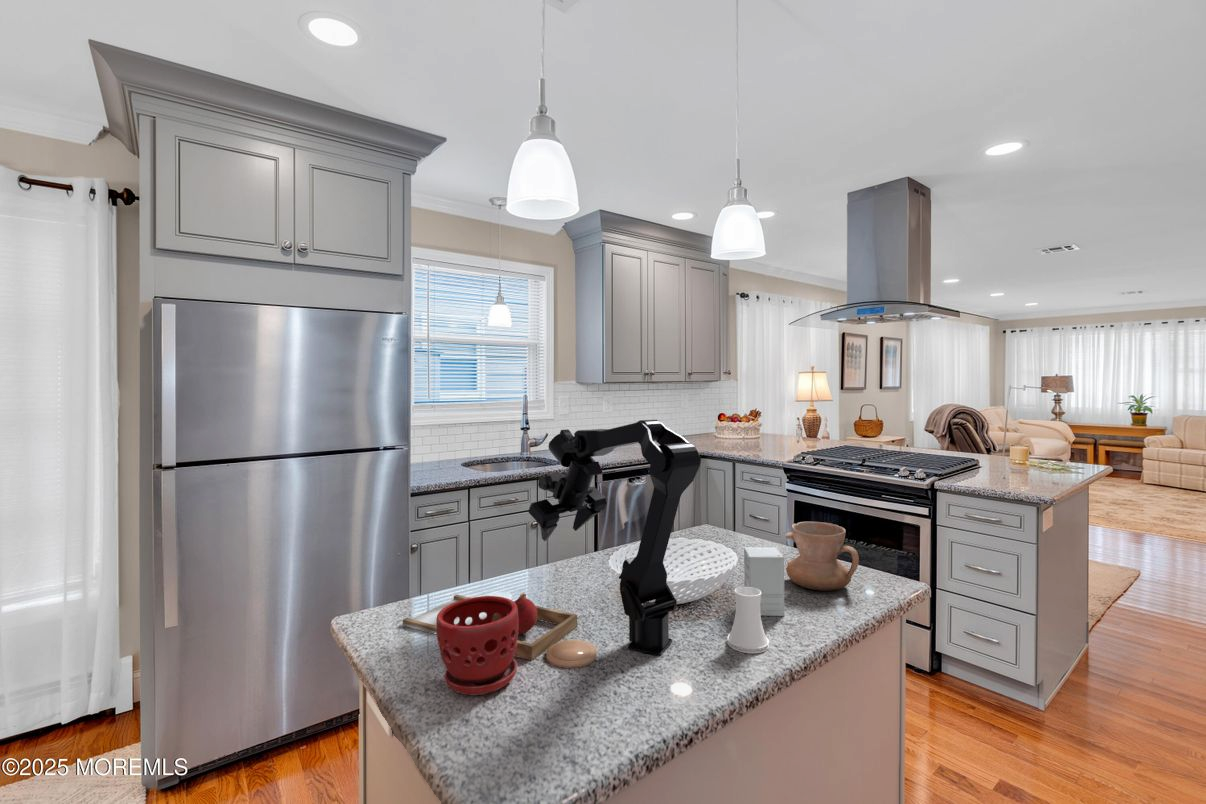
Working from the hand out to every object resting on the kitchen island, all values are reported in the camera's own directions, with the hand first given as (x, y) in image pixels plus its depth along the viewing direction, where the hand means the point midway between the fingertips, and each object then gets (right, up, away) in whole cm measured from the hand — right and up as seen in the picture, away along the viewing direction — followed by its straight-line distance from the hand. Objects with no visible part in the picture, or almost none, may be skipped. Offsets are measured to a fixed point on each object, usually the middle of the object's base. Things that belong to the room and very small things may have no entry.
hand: (559, 534), depth 128 cm
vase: (+37, -15, -24) cm, 47 cm away
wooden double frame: (-13, -15, -15) cm, 25 cm away
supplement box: (+45, -15, -7) cm, 48 cm away
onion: (-6, -15, -19) cm, 25 cm away
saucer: (+4, -15, -28) cm, 32 cm away
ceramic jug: (+62, -14, +7) cm, 64 cm away
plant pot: (-10, -16, -36) cm, 41 cm away
